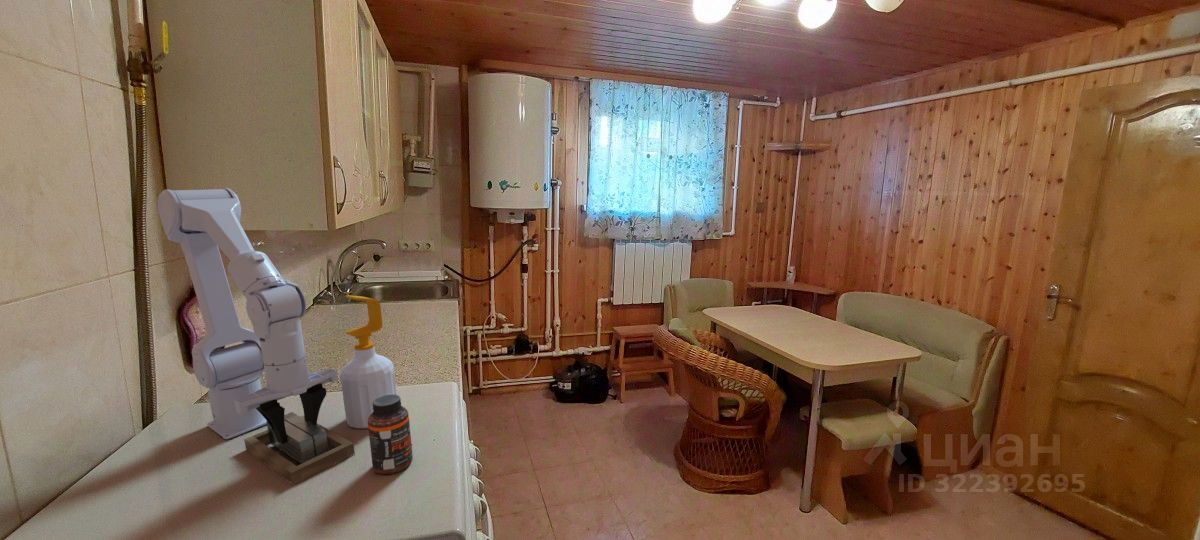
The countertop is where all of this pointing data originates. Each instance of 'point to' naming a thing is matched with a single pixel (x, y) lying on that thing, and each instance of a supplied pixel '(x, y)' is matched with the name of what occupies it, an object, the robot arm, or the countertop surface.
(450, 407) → the countertop surface
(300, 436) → the grooved grey block
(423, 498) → the countertop surface
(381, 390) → the soap bottle
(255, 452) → the brown rectangular open frame
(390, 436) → the supplement bottle
